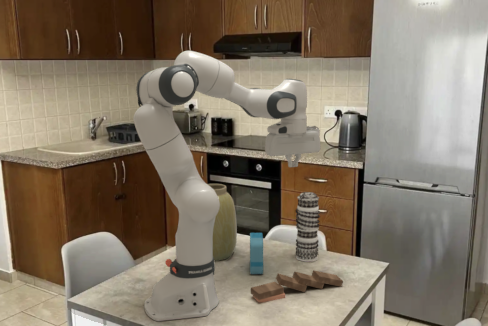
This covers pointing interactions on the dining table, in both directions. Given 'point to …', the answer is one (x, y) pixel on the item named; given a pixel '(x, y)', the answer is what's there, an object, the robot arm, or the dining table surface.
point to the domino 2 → (271, 298)
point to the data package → (256, 253)
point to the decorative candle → (307, 227)
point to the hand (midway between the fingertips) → (293, 166)
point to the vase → (224, 225)
